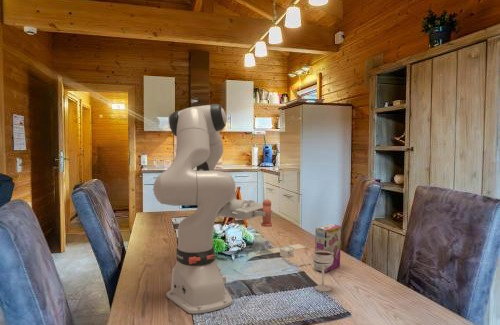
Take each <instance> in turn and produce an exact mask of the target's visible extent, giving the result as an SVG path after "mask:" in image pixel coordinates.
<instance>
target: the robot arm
mask: <svg viewBox="0 0 500 325" xmlns="http://www.w3.org/2000/svg"><path fill="white" fill-rule="evenodd" d="M168 122H169V123H168V124H169V125H168V126H169V129H170V131H171V133H172V135H174V136H175V137H176V148H175V150H176V151H175V152H176V153H175V157H174V160H173V161H172V162H171V165H170V166H168V168H167V169H166V170H164V171H163V172H161V173H159V174H158V176H157V177H156V178H155V181H154V183H153V186H152V187H153V188H152V189H153V195H154V196H155V199H156V200H157V202H159V203H160V204H161V205H168V206H174V207H176V206H177V207H178V206H181V207H182V206H197V209H196V210H195V212H193V213H192V214H190V215H188V216H186V217H185V218H183V219H182V220H181V221H180V222H179V224H178V227H177V248H176V251H175V252H176V253H175V255H176V263H175V264H174V266H173V268H172V269H171V284H170V286H171V287H170V290H168V291H167V292H166V297H167V298H168V299H169V300H170V301H172V302H173V303H174V304H175V305H177V306H178V307H180V309H182V310H184V311H185V312H187V314H196V315H197V314H203V313H205V314H206V313H210V312H213V311H215V312H216V311H217V310H222V309H224V308H227V307H228V306H231V305H232V304H233V298H232V296H231V295H230V293H229V292H228V289H227V288H226V286H225V283H226V282H227V275H226V274H221V271H222V268H221V267H219V266H218V264H217V262H216V261H217V260H216V252H215V247H214V245H213V244H214V226H215V221H216V218H217V216H220V217H223V218H233V219H235V220H236V219H237V220H243V221H245V220H251V219H253V218H257V217H263V216H266V215H267V212H264V211H263V202H262V203H261V202H257V201H255V200H245V199H239V198H238V199H237V193H236V182H235V179H234V177H233V176H232V174H230V173H229V172H224V171H220V170H215V168H216V166H217V164H218V162H219V161H220V159H221V158H222V157H223V153H224V146H223V141H222V138H221V134H220V131H222V130H223V129H224V128H225V127H226V125H227V114H226V111H225V109H224V108H223V106H222V105H220V104H219V103H210V104H206V105H197V106H191V107H187V108H183V109H181V110H179V109H178V110H175V111H174V112H172V113H171V114H170V116H169V119H168ZM195 168H196V170H194V169H195ZM272 214H273V209H271V215H272Z"/></svg>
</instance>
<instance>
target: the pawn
mask: <svg viewBox="0 0 500 325" xmlns="http://www.w3.org/2000/svg"><path fill="white" fill-rule="evenodd" d="M262 203H263V211H264V212H267V215H266V216H262V222H261V223H260V224H261V225H260V226H261V227H264V228H265V227H266V228H271V227H272V226H273V222H272V214H271V210H272V202H271V200H270V199H269V198H267V199H264V200H263V201H262Z"/></svg>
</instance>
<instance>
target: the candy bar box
mask: <svg viewBox="0 0 500 325" xmlns="http://www.w3.org/2000/svg"><path fill="white" fill-rule="evenodd" d="M314 238H315V239H314V240H315V242H314V244H315V245H314V248H315V249H314V251H315V250H329V251H332V252H333V253H334V254H333V257H334V262H333V264H332V265H331V266H330V267H329V268H326V269H325V270H324V274H326V273H328V272H330V271H332V270H334V269H337V268H339V267H341V246H342V245H341V242H342V225H339V224H338V225H337V224H334V223H330V224H329V223H328V224H326V225H323V226H319V227H315V237H314ZM313 270H315V271H317V272H319V273H322V269H321V268H320V267H318V266H317V265H316V264H315V263H314V269H313Z"/></svg>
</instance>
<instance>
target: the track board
mask: <svg viewBox="0 0 500 325" xmlns="http://www.w3.org/2000/svg"><path fill="white" fill-rule="evenodd" d="M285 247H288V248H291V249H293V251H294V250H300V249H304V248H305V249H306V250H309V248H307V247H306V246H304V245H301V244H299V243H295V244H291V245H285V246H278V247H273V248H266V249H261V251H260V250H259V251H260V252H259V253H258V254H257V255H255V256H253V257H258V256H259V257H260V256H265V255H270V254H276V253H280V249H281V248H285ZM253 257H252V258H253Z"/></svg>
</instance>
